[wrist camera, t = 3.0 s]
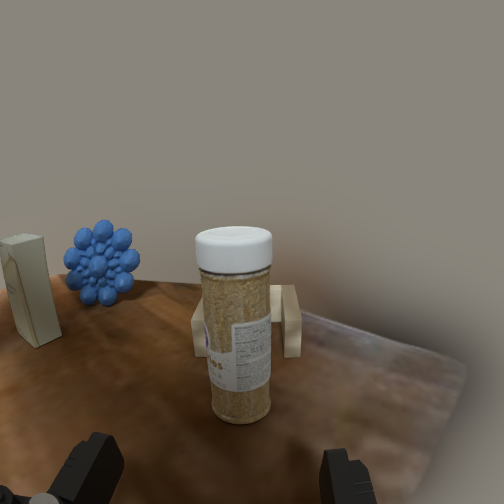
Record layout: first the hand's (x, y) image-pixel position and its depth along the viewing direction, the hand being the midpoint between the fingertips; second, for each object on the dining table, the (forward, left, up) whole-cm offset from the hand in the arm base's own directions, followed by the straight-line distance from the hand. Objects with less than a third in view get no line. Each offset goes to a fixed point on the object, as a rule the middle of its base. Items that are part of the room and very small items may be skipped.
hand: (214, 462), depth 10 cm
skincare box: (-26, +19, -7) cm, 33 cm away
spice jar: (0, +11, -7) cm, 13 cm away
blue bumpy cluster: (-21, +30, -7) cm, 37 cm away
